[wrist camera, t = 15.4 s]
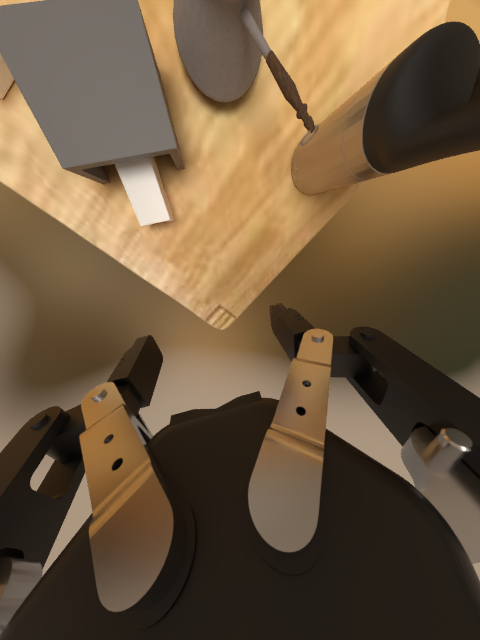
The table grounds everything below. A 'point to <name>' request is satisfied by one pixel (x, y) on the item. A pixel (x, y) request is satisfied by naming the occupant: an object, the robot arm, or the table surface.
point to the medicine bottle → (4, 78)
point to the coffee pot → (229, 51)
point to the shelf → (89, 81)
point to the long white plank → (145, 190)
